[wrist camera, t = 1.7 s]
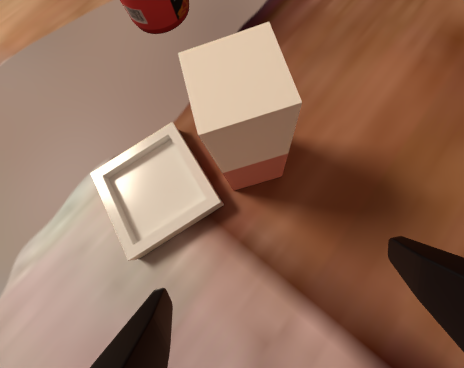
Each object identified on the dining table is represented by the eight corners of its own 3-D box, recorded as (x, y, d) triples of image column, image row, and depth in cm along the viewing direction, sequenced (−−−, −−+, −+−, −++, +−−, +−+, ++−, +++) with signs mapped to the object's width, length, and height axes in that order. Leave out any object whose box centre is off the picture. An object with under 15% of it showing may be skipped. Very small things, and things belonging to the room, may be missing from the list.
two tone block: (282, 176, 22) (301, 102, 10) (233, 190, 23) (198, 135, 11) (267, 132, 24) (269, 21, 12) (221, 146, 24) (177, 53, 12)
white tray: (224, 204, 22) (220, 201, 21) (138, 259, 22) (128, 260, 21) (178, 129, 25) (172, 121, 23) (102, 177, 25) (90, 173, 23)
